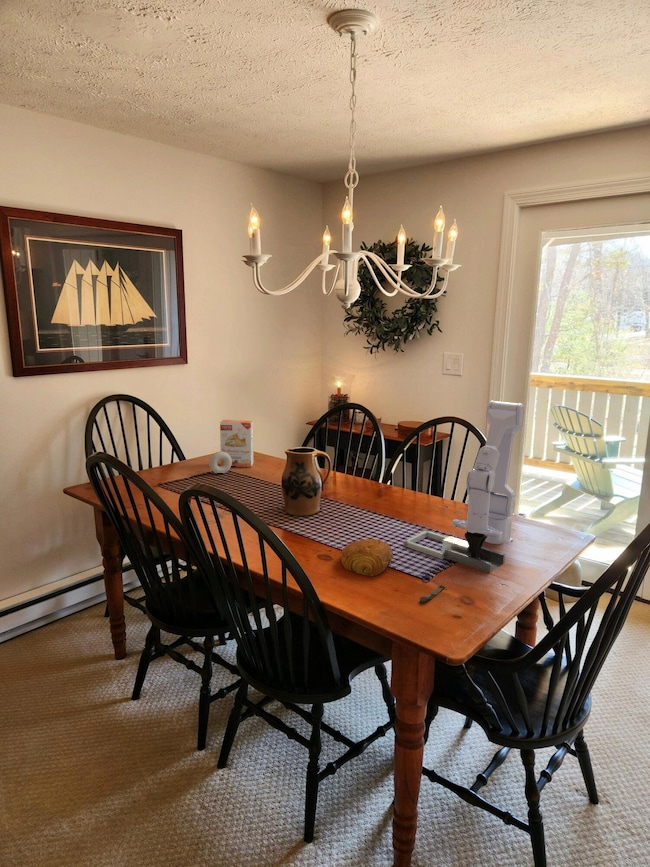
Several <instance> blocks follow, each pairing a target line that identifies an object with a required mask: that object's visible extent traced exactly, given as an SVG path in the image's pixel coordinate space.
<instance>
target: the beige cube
mask: <svg viewBox="0 0 650 867" xmlns="http://www.w3.org/2000/svg"><path fill="white" fill-rule="evenodd" d="M446 537H447V538H445V539H443V542H441V543H442V548H441V552H442V553H444V554H445V549H446V548H448V549H451V550H454V551H455V543H457V542H459V541H460V540H462V538H458V537H454V536H452V535H449V536H446Z"/></svg>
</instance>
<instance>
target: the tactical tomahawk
mask: <svg viewBox="0 0 650 867" xmlns="http://www.w3.org/2000/svg"><path fill="white" fill-rule="evenodd" d="M446 589H447V587H445V586H443V585H439V586H438V587H437V588H435V589H433V590H432V591H431V592H430V593H429V594H428V595H426V596H420V598H419V602H420V603H425V602H427V601H428V600H433V599H434V598H435V597H436V596H438V595H439V594H440V593H441V592H442V591H444V590H446Z"/></svg>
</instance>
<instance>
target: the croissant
mask: <svg viewBox="0 0 650 867" xmlns="http://www.w3.org/2000/svg"><path fill="white" fill-rule="evenodd" d="M340 555H341V564H342V565H343V568H344V569H345V570H346V571H349V572H354V573H356V574H358V575H364V576H369V577H374V576H375V577H376V576H378V575H379V574H381V573H382V572H384V571H385V570H386V569H387V567H388V566H389V564H390V563H391V562H392V560H393V555H394V551H393V549H392V547H391V546H390V544H389V545H388V544H387V543H386V542H385V541H383V540H381V539H377V538H366V539H365V538H364V539H359V540H354V541H352V542H350V543H349V544H347V545H346V546H344V547H343V549H342V550H341V552H340Z"/></svg>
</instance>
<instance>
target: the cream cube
mask: <svg viewBox="0 0 650 867" xmlns="http://www.w3.org/2000/svg"><path fill="white" fill-rule="evenodd" d="M455 551H457V552H460V553H463V554H466V555H469V556H471V552H470V548H469V545H468V542H467V540H466V539H465V540H463V539H461V540H460V541H459V542H457V543H455Z"/></svg>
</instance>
